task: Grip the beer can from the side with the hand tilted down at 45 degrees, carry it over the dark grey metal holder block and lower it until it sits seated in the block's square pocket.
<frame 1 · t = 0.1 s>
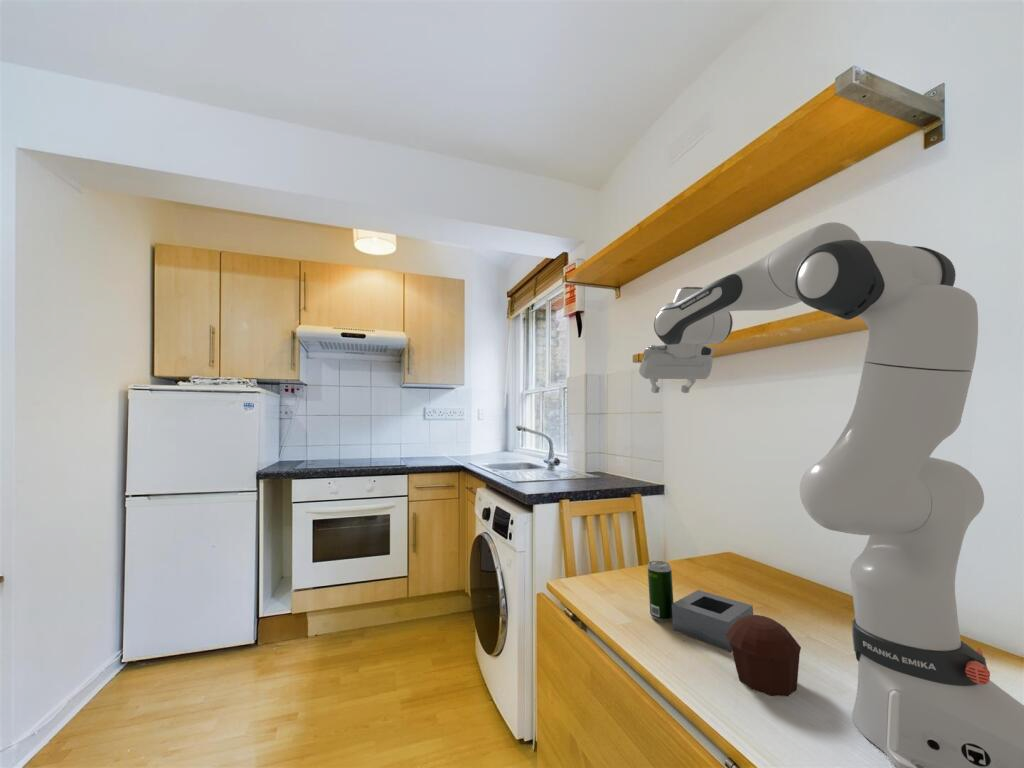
hand: (669, 392, 119), 54 cm above the table, tool tilted 30°, fingers open, 8 cm apart
holder block: (713, 631, 89), on the table
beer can: (662, 618, 96), on the table
muffin: (765, 682, 72), on the table
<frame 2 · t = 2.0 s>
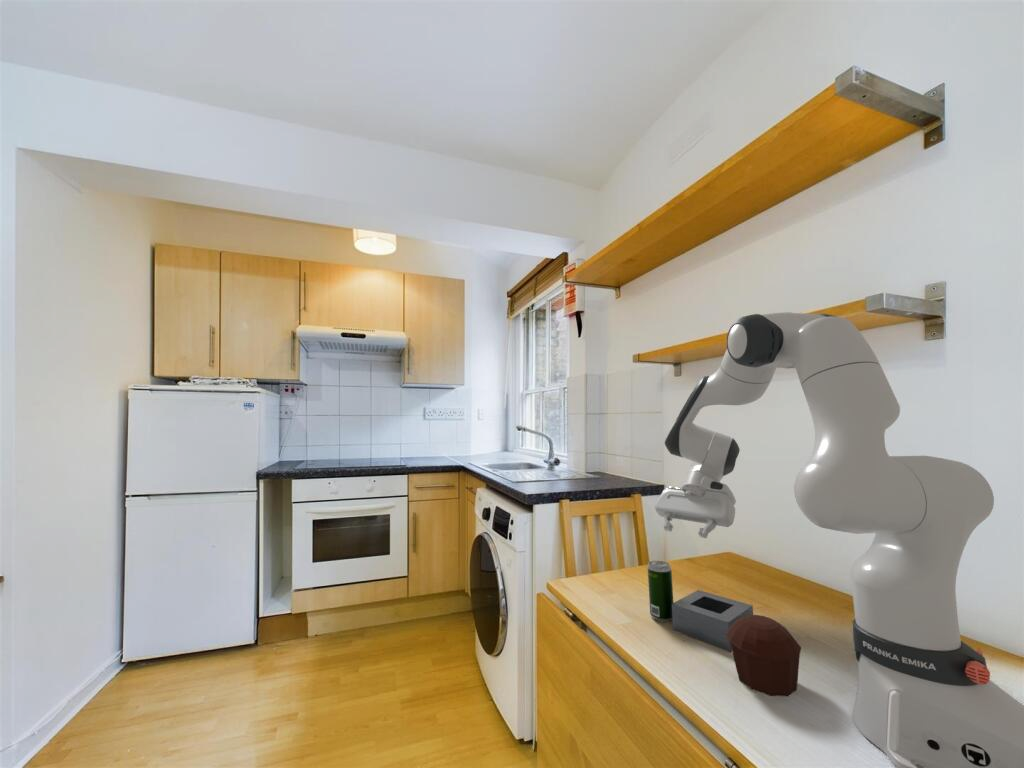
hand: (684, 533, 106), 17 cm above the table, tool tilted 45°, fingers open, 8 cm apart
nothing on the table moved.
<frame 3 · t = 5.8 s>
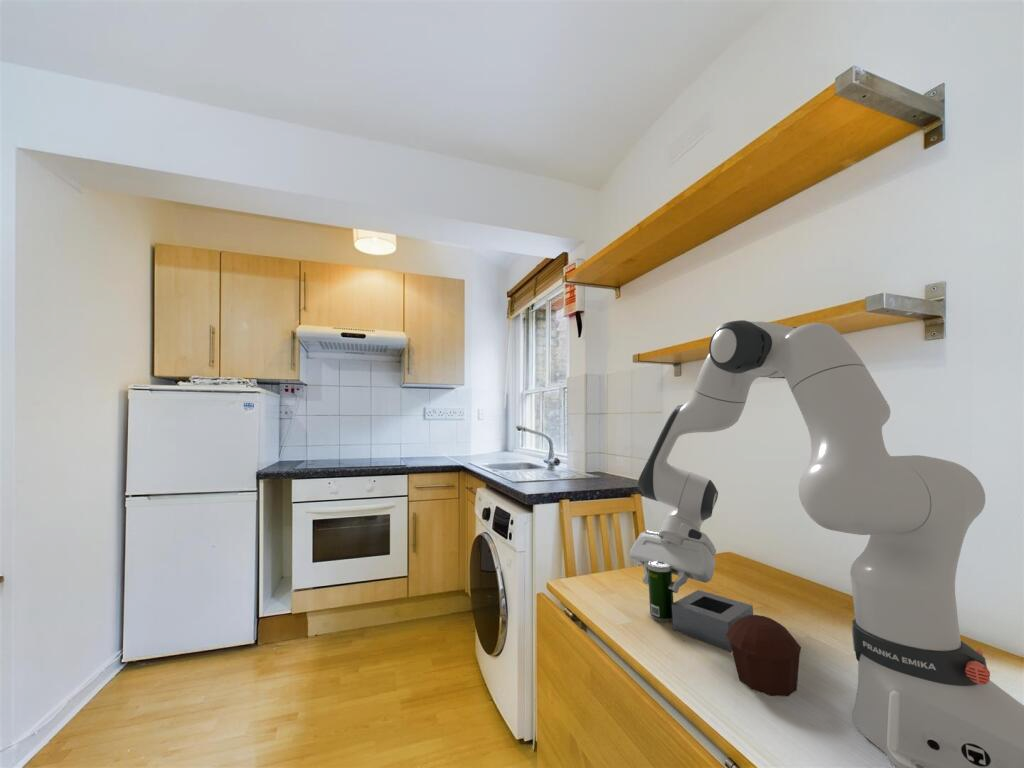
hand: (659, 587, 97), 7 cm above the table, tool tilted 45°, fingers closed on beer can, 5 cm apart
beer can: (662, 618, 96), on the table, touching gripper
everything else where it was.
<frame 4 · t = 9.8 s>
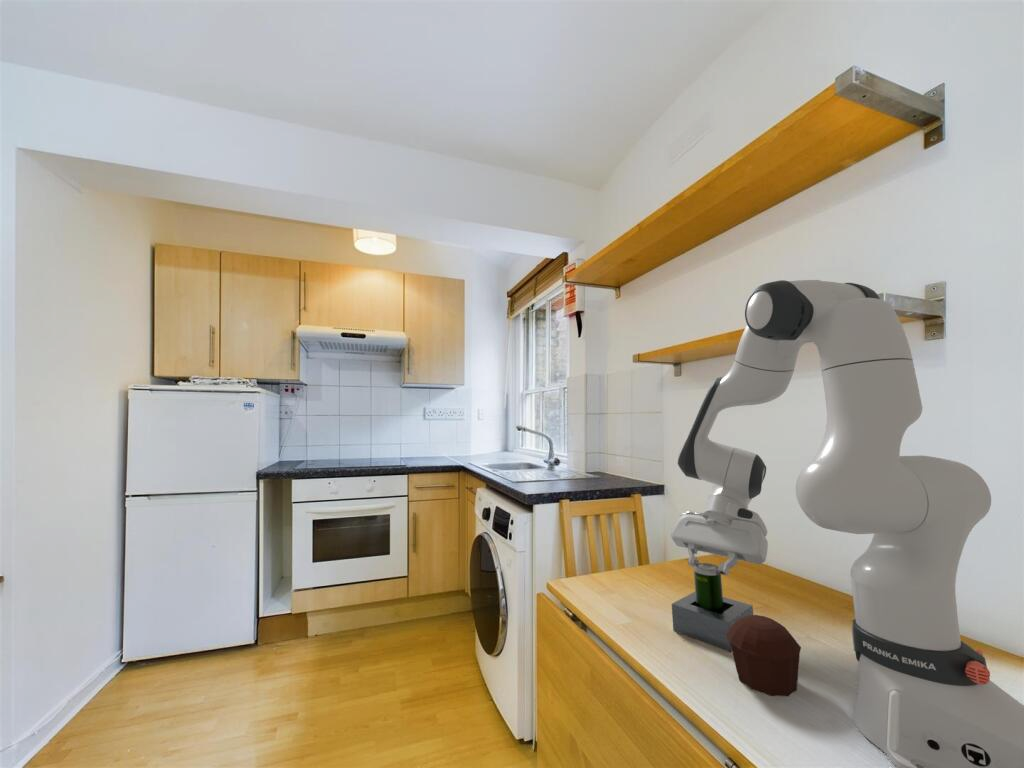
hand: (706, 569, 91), 13 cm above the table, tool tilted 45°, fingers closed on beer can, 5 cm apart
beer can: (711, 625, 89), point 1 cm above the table, touching gripper, holder block
everything else where it was.
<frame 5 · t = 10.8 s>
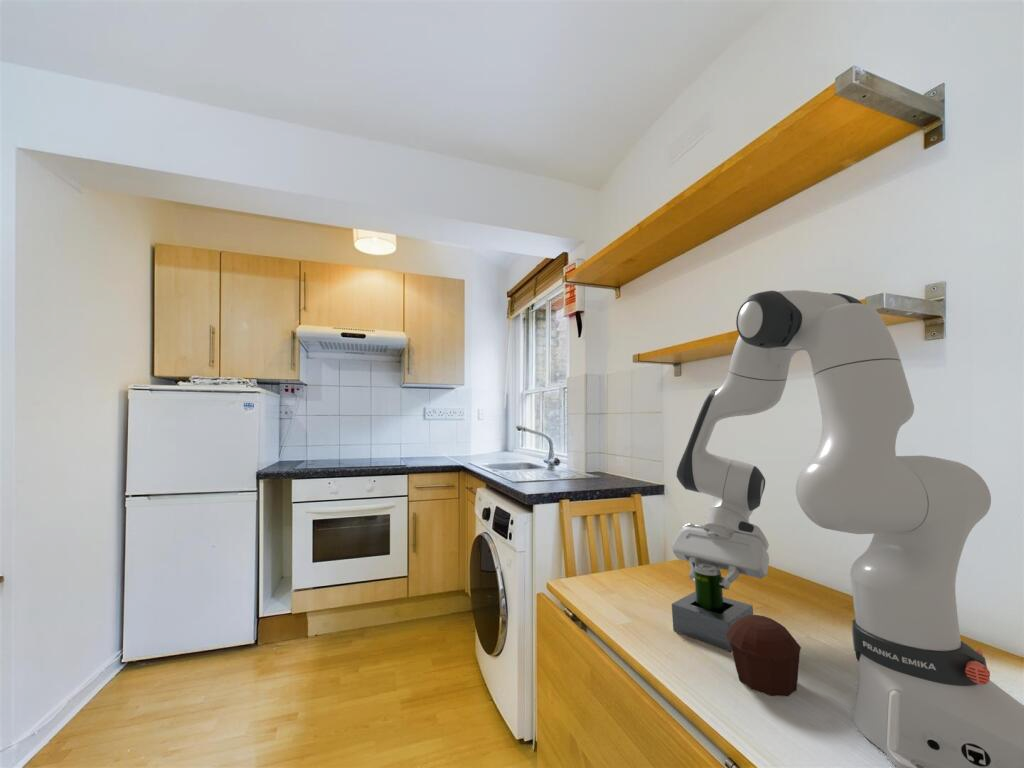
hand: (708, 583, 90), 10 cm above the table, tool tilted 45°, fingers closed on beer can, 5 cm apart
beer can: (711, 625, 89), point 1 cm above the table, touching gripper, holder block
everything else where it was.
when the fingers open (10 cm above the table, at t = 11.0 s): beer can stays where it is, resting on holder block.
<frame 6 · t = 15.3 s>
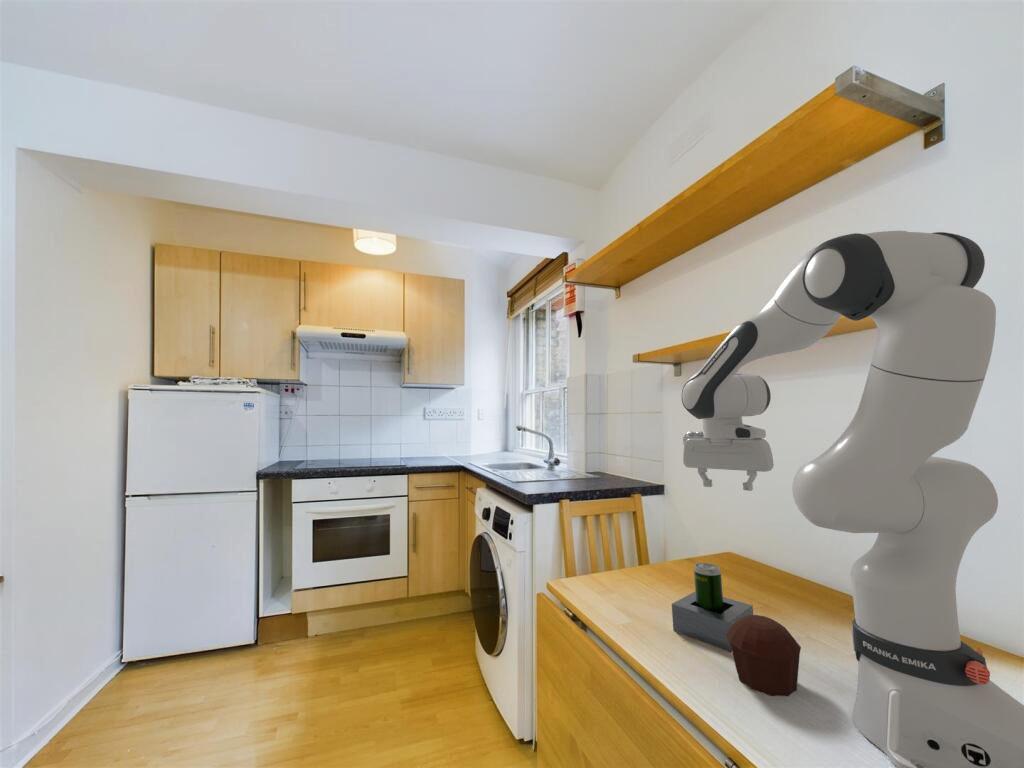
hand: (727, 488, 100), 29 cm above the table, tool pointing down, fingers open, 8 cm apart
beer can: (711, 625, 89), point 1 cm above the table, touching holder block
everything else where it was.
at the end: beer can 0.5 cm off-centre on the holder block, point 1.3 cm above the holder block's base; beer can tilted 0°; the gripper is holding nothing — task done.
